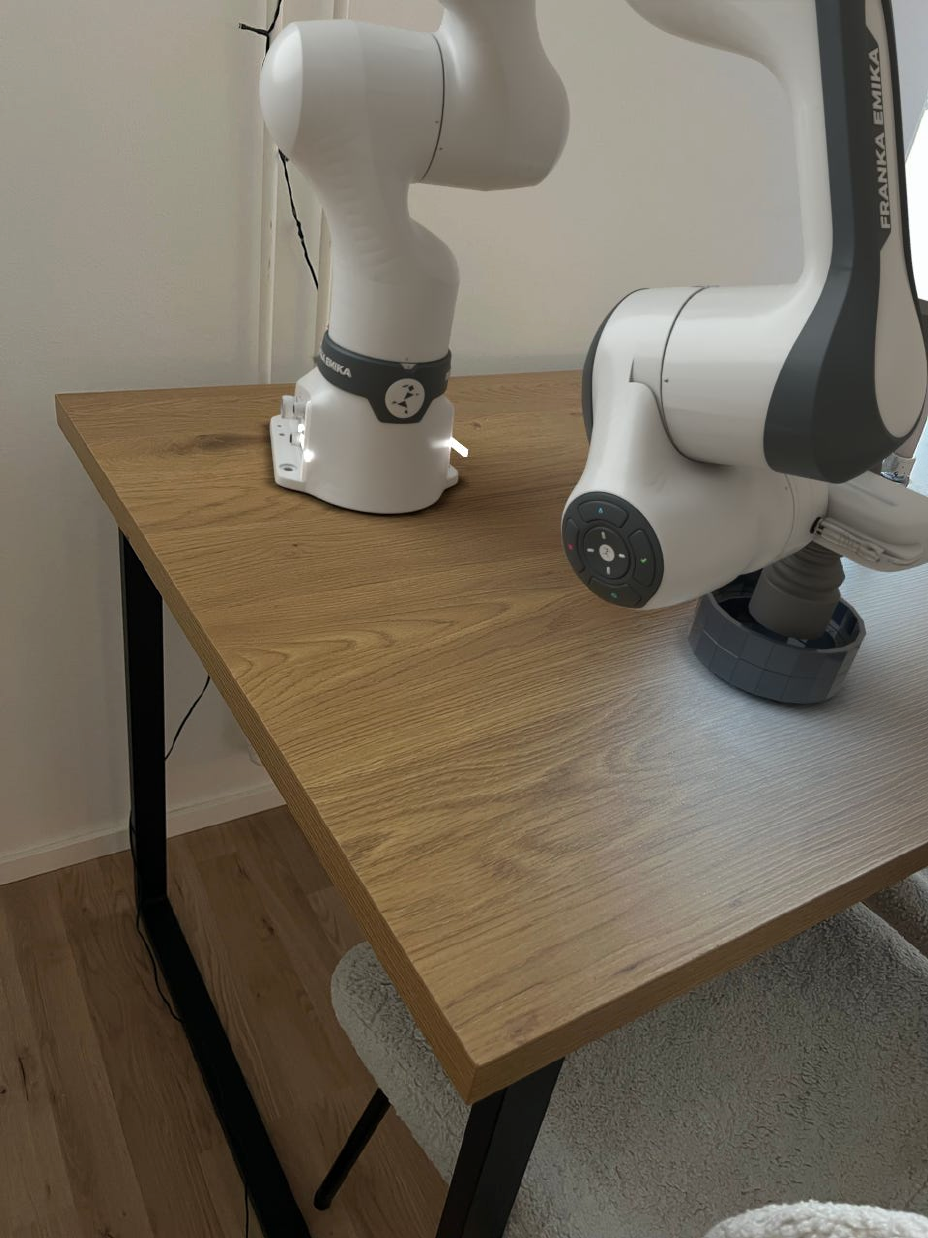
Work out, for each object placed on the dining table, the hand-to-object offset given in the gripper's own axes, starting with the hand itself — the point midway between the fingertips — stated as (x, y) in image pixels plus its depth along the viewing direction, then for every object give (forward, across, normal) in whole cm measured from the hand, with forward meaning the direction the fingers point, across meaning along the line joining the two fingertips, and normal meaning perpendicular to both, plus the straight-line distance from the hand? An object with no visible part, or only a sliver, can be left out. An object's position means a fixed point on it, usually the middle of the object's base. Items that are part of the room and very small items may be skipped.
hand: (848, 462), depth 75 cm
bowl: (-1, 0, +18) cm, 18 cm away
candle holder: (-2, -1, +13) cm, 13 cm away
